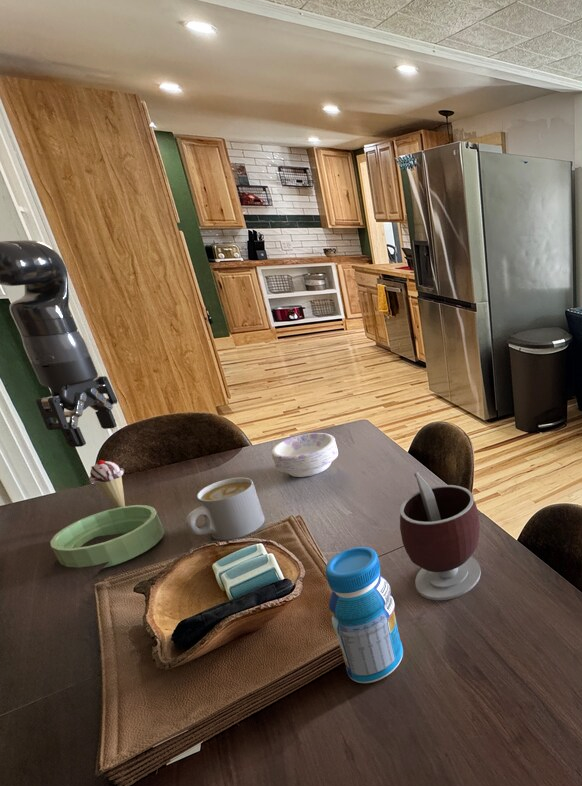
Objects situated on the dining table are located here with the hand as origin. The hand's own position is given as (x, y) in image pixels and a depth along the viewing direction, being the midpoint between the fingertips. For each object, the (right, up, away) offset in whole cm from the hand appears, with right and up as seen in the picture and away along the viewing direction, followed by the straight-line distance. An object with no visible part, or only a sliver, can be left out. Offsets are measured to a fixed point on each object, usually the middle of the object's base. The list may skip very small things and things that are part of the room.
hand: (94, 436), depth 93 cm
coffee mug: (+16, -22, +13) cm, 30 cm away
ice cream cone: (-12, -20, +18) cm, 29 cm away
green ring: (-3, -24, +7) cm, 25 cm away
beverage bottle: (+64, -35, -18) cm, 75 cm away
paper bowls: (+18, -11, +40) cm, 45 cm away
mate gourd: (+69, -28, 0) cm, 75 cm away
